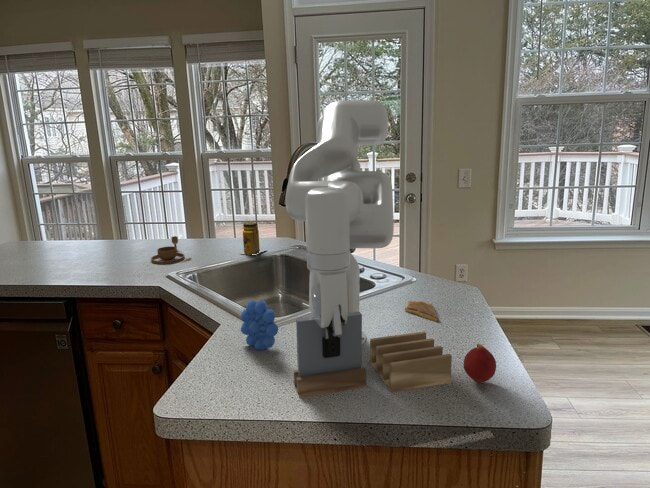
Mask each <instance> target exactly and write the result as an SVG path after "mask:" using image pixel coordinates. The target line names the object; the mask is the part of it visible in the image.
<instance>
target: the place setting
mask: <svg viewBox="0 0 650 488" xmlns="http://www.w3.org/2000/svg"><path fill="white" fill-rule="evenodd" d="M171 243H172V244H173V245H174V246H172V245H171V246H163V247H162V246H161V247H159V248H157V249H156V252H157V254H155V255H152V256H151V258H150V261H151V262H152V264H157V265H169V264H170V265H171V264H175V263H180V262H181V264H183V263H186V262H189V261H191V260H192V257H188V258H186V259H185V254H184V253H181V252H178V246H177V244H178V243H179V237H178V236H176V235H175V236H171ZM176 257H179V258H176ZM175 258H176V259H175ZM157 259H161V260H157ZM184 259H185V260H184ZM183 260H184V261H183Z"/></svg>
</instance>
